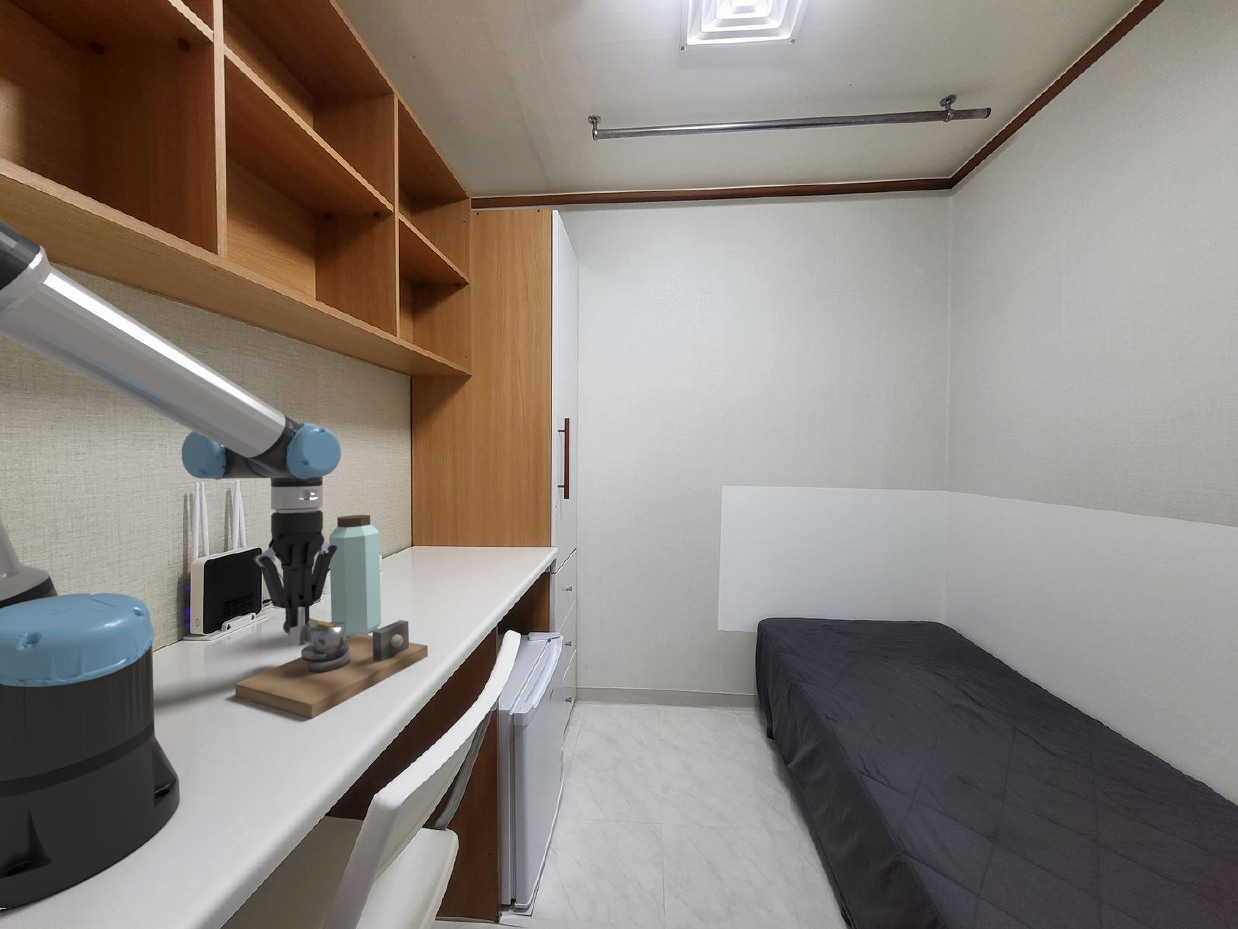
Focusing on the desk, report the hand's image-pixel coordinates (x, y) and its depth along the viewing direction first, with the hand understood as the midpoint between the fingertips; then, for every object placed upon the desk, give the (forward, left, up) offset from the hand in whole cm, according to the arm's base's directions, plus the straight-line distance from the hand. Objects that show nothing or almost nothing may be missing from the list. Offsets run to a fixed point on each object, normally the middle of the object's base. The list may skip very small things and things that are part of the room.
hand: (297, 643), depth 81 cm
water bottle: (+18, +8, -5) cm, 20 cm away
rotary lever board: (+2, -8, -5) cm, 10 cm away
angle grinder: (+1, -2, -1) cm, 3 cm away
